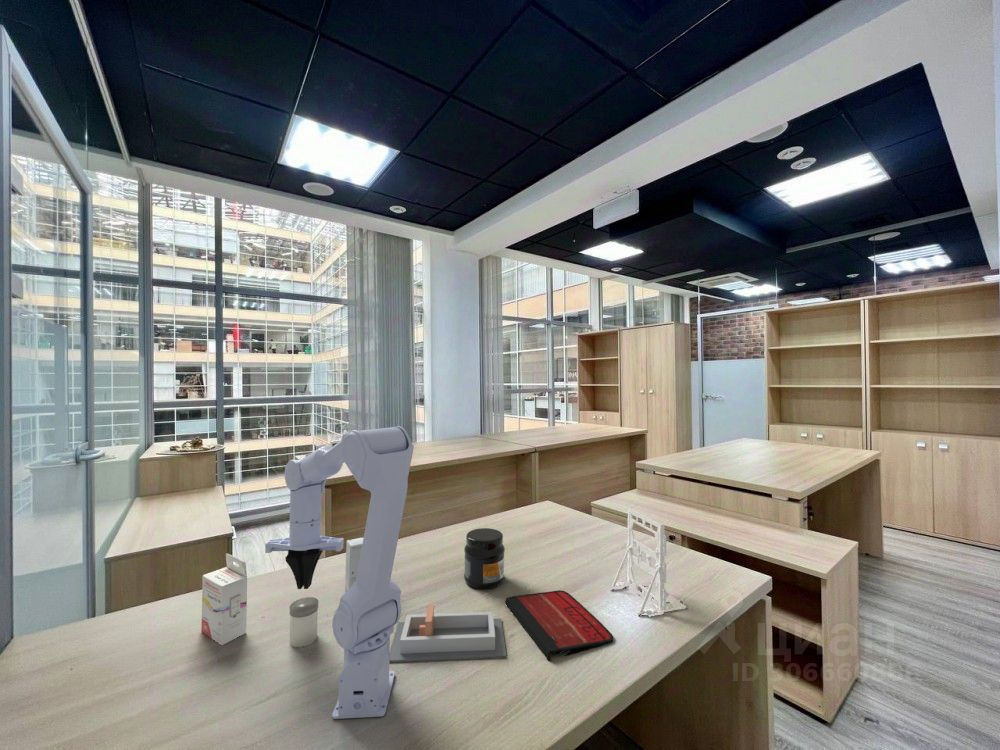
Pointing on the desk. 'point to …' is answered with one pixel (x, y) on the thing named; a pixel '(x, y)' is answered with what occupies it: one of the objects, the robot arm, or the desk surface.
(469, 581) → the supplement container
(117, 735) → the desk surface
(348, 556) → the skincare box
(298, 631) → the jar
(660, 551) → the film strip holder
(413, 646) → the base
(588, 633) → the binder
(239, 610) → the ink cartridge box
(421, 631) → the pusher
